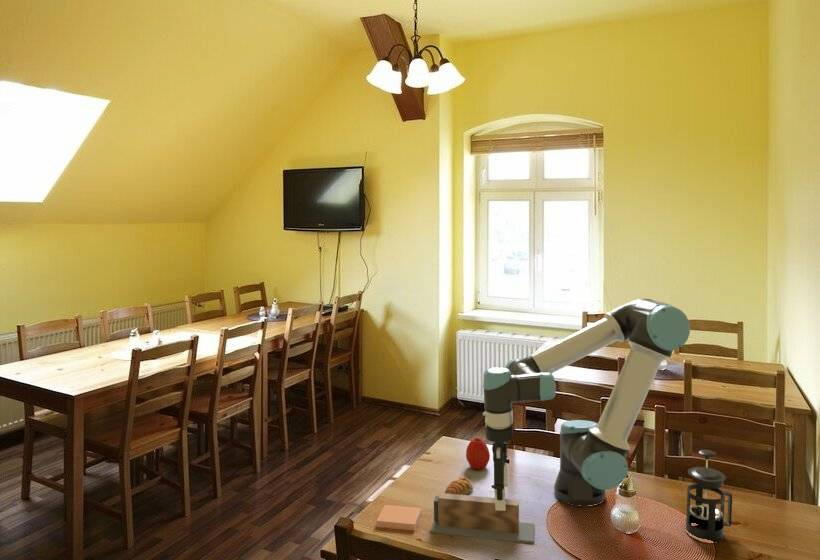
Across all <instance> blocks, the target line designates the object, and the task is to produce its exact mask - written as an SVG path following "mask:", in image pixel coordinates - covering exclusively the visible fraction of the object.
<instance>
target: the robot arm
mask: <svg viewBox="0 0 820 560" xmlns="http://www.w3.org/2000/svg"><path fill="white" fill-rule="evenodd" d="M690 333H691V324H690V321H689V318H688V316H687V315H686V313H684V312H683V310H681V309H680V308H678V307H677V306H674V305H672V304H669V303H666V302H665V303H664V302H660V301H658V300H654V299H651V298H639V299H634V300H630V301H629V302H627V303H624V304H622V305H620V306H617V307H615V308H614V309H611V310H609V311H607V312H605V313H604V316H603V318H602V319H600V320H598V321H595V322H593V323H592V324H589V325H588V326H585V327H584V328H582V329H580V330H578V331H576V332H574V333H572V334H570V335H568V336H566V337H565V338H562V339H560V340H558V341H556V342H554V343H552V344H550V345H548V346H547V347H545V348H543V349H540V350H538V351H537V352H534V353H533V354H531V355H528V356H525V357H524V358H523V359H522V358H513V359H510V360H508V362H507V363H506V365H505V367H499V366H497V367H495V366H494V367H491V368H490V367H489V368H487V369H486V370H485V371H484V372H483V381H482V382H483V385H482V388H483V400H484V401H483V402H484V412H482V416H483V417H484V422H485V426H484V427H485V429H484V430H485V438H486V440H488V441H490V442H492V447H491V450H492V461H493V484H492V485H491V489H494V498H495V510H499V511H506V504H505V499H506V488H508V487H509V478H508V477H509V475H508V474H509V473H508V464H510V459H509V458H508V442H511V440H513V438H514V427H513V426H514V425H513V423H514V419H513V418H514V417H513V415H514V413H513V404H514V403H515V404H516V403H517V404H518V403H527V402H528V403H529V402H543V401H549V400H553V399H554V398H555V396H556V394H557V393H556V392H557V386H556V385H557V384H556V380H555V377H554V375H553V373H555V372H557V371H559V370H561V369H564V368H565V367H567V366H569V365H571V364H573V363H575V362H577V361H579V360H581V359H583V358H584V357H587V356H590V355H591V354H593V353H595V352H598V351H599V350H601V349H603V348H605V347H607V346H609V345H611V344H613V343H615V342H619V343H622V342H624V341H627V342H628V345H629V346H630V347H629V348H630V349H629V352H628V354H627V357H626V359H625V361H624V364H623V366H622V368H621V370H620V372H619V375H618V376H617V379H616V382H615V384H614V386H613V389H612V391H611V393H610V396H609V397H608V400H607V401H606V404H605V406H604V409H603V411H602V414H601V415H600V418H599V421H598V422H595V421H591V420H583V419H574V420H573V419H572V420H568V421H567V420H566V421H565V422H563V423H562V424H561V425H560V432H559V435H560V436H559V445H560V446H559V463H560V464H559V466H560V467H559V471H558V474H557V477H556V479H555V482H554V485H553V486H554V487H553V493H554V496H555V497H556V499H558V500H559V501H560V502H561V503H562V502H563V503H564V502H565V503H564V504H567V503H569V504H568V505H570V504H573V505H572V506H574V505H581V506H588V505H594V504H598V503H600V502H602V501H603V500H604V499H605V500H606V491H607V490H611V489H614V488H617V487H619V486H620V485H621V484H622V483H623V482H624V481H623V479H624V478H625V479H626V478H627V477H628V473H629V465H628V462H627V459H626V458H627V456H628V454H629V450H630V449H631V448H630V444H629V443H628V439H629V436H630V434H631V432H632V429H633V428H634V424H635V423H636V420H637V418H638V417H639V416H638V415H639V413H640V411H641V410H642V407H643V404H644V402H645V400H646V398H647V396H648V393H649V391H650V389H651V386H652V385H653V382H654V380H655V377H656V375H657V373H658V370H659V368H660V366H661V364H662V362H664V361H666V360H669V359H670V358H671V356H672V354H673V352H674V350H678V349H679V348H681V347H683V346H684V345H685V344H686V342H688V339H689V337H690ZM622 481H623V482H622ZM621 482H622V483H621ZM620 483H621V484H620ZM619 484H620V485H619ZM618 485H619V486H618Z"/></svg>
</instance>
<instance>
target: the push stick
mask: <svg viewBox="0 0 820 560" xmlns="http://www.w3.org/2000/svg"><path fill="white" fill-rule="evenodd" d="M505 504H506V511H499V510H495V497H488V496H478V495H468V494H466V495H457V494H446V493H445V492H444V493H443V492H440V493H439V495H435V497H434V500H433V520H434V522H438V525H441V526H451V527H461V528H470V529H480V530H490V531H499V532H509V533H519V522H520V500H519V499H512V498H511V499H510V498H505Z"/></svg>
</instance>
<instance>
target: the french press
mask: <svg viewBox="0 0 820 560" xmlns="http://www.w3.org/2000/svg"><path fill="white" fill-rule="evenodd" d="M698 454H699V455H701V456H703V457H704V459H705V460H706V461H705V462H706V463H705V466H693V467H690V468H689V469H688V470H687V474H688V475H689V477H690V478H692V479H693V480H694V482H695V483H692V484H690V485H688V486H687V489H686V494H687V495H686V519H685V527H686V529H687V531H688V532H689V533H691V534H692V535H694V536H696V537H698V538H702V539H707V540H711V541H713V542H720V541H722V540H723V539H724V540H725V534H724V529H725V527H731V526H732V516H733V515H732V511H733V510H732V509H733V495H732V493H731V492H730V491H725V490H724V491H723V490H722V489H721V488H722V487H724V483H725V481H726V475H725V474H724V473H723V472H722V471H719V470H717V469H715V468H711V467H709V466H708V462H709V461H708V460H710V457H711V458H713V457H717V453H716V452H715V451H713V450H709V449H699V450H698ZM691 490H695V494H694V493H691ZM707 491H711V492H714V493H716V494H718V495H720V498H715V499H711V498H709V499H708V498H707V495H708V494H707ZM703 495H704V497H703ZM726 496H727V516H726V517H727V518H726V519H727V521H725V520H724V517H725V515H724V514H725V501H726ZM691 499H692V500H693V501H695V503H693V504H691ZM717 505H720V509H719V508H717ZM691 523H696V524H698V525H700V526H699V527H704V528H707V530H706V529H701V528H699V527H697V526H695V527H694V526H692V525H691ZM724 540H723V541H724ZM723 541H722V542H723ZM720 543H721V542H720Z"/></svg>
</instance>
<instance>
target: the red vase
mask: <svg viewBox="0 0 820 560" xmlns="http://www.w3.org/2000/svg"><path fill="white" fill-rule="evenodd" d="M487 445H488V444H487V443H486V442H485V440H484V439H482V438H480V437H474V438H472V440H470V441H469V443H468V445H467V447H466V452H465V458H466V461H467V462H468V463H467V464H468V465H469V466H470V467H471V468H472V469H473V470H477V471H482V470H484V469H486V467H487V465H488V463H489V462H490V458H491V456H490V455H491V453H490V450H489V447H488V446H487Z"/></svg>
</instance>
